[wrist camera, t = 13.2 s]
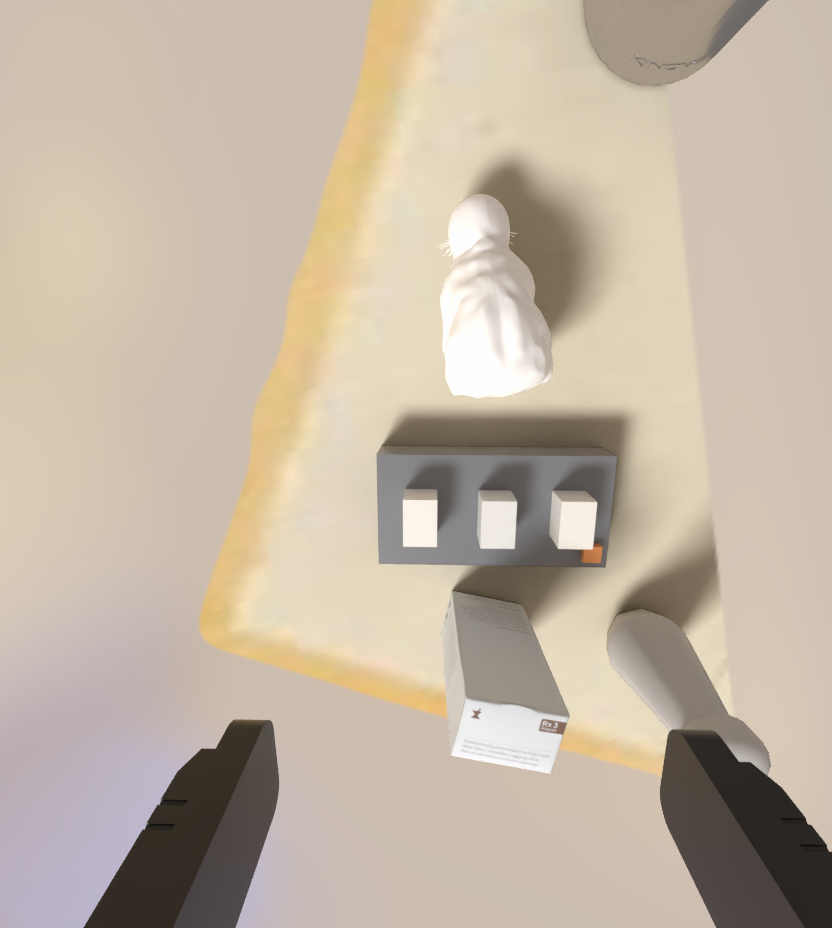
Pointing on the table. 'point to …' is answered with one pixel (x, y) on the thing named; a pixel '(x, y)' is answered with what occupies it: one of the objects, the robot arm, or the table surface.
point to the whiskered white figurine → (490, 308)
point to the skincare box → (499, 686)
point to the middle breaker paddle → (496, 519)
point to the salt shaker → (676, 682)
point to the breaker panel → (494, 468)
